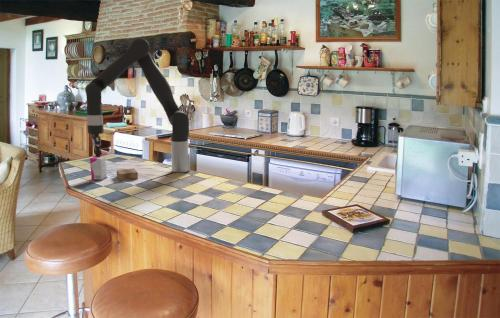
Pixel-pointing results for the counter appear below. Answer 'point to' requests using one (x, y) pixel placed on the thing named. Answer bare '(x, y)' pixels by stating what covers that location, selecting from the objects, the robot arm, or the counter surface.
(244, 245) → the counter surface
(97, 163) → the supplement box
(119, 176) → the brown cardboard box
